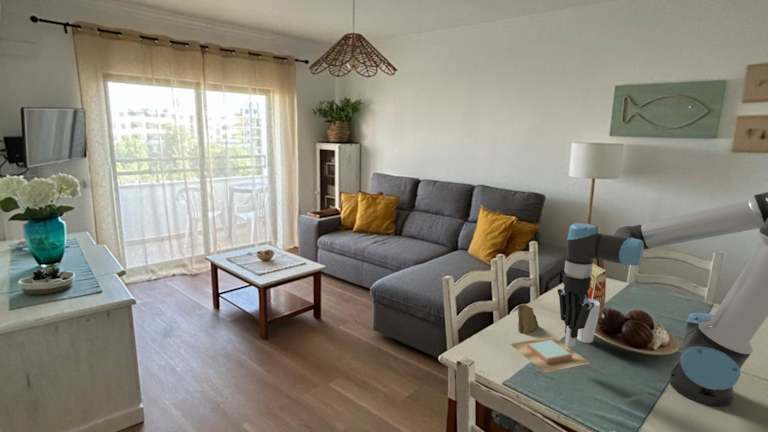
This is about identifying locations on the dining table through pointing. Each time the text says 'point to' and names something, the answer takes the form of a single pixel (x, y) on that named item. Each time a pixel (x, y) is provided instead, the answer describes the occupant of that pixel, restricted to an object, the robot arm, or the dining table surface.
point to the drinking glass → (590, 324)
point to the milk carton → (598, 286)
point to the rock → (526, 319)
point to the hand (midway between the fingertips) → (569, 345)
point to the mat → (549, 367)
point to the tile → (549, 351)
